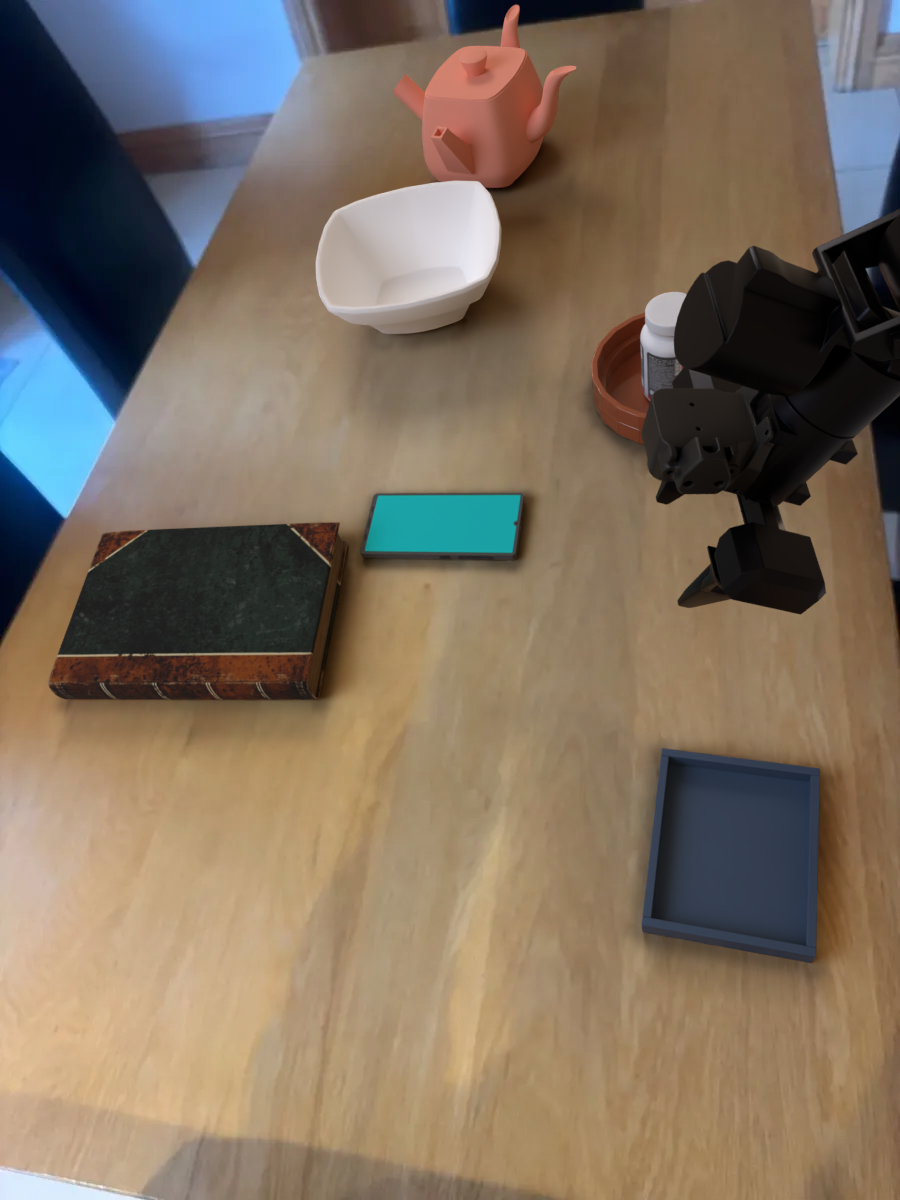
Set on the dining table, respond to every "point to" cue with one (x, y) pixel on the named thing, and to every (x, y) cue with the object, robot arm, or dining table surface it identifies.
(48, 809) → the dining table surface
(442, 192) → the bowl
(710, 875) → the tray
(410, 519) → the smartphone
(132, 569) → the book
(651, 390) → the pill bottle
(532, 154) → the teapot
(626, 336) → the terracotta bowl
